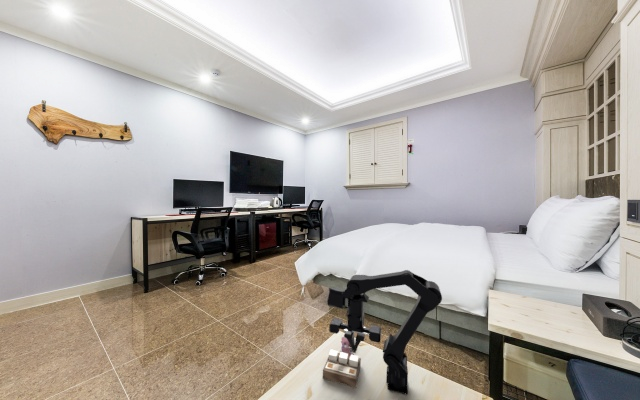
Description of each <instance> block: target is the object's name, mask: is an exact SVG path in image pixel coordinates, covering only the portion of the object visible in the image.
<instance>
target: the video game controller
mask: <svg viewBox="0 0 640 400" xmlns="http://www.w3.org/2000/svg"><path fill="white" fill-rule="evenodd" d="M340 342H341V352H343V353H347V354H348V355H349V356H351V355H354V354H353V352H351V350H350V348H351V345H350V343H349V341H348V340H347V338H345V337H344V336H343V337H341V341H340Z"/></svg>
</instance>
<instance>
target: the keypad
mask: <svg viewBox="0 0 640 400" xmlns="http://www.w3.org/2000/svg"><path fill="white" fill-rule="evenodd" d="M340 353H341V352H338V359H337V362H333V361H329V356H328V357H327V359H326V361H325V364H324V366H323V368H322V379H325V380H328V381H331V382H334V383H338V384H341V385H345V386H348V387H352V388H355V389H357V385H358V381H359V380H358V379H359V375H360V369H361V366H362V365H361V361H362V358H361V357H359V363H358V368H356V367H353V366H349V359H350V356H349V355H348V363H347V365H345V364H341V363H339V355H340Z"/></svg>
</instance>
